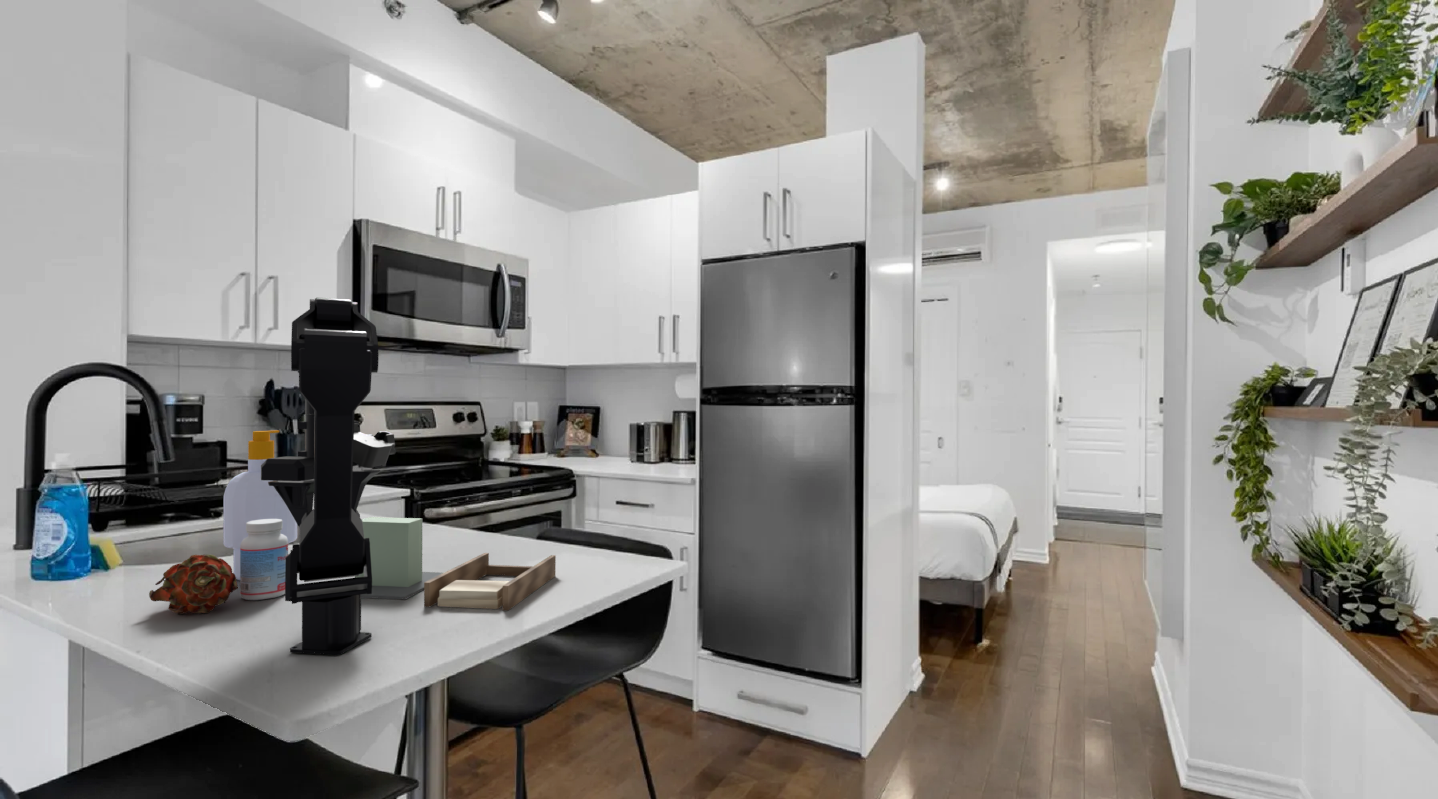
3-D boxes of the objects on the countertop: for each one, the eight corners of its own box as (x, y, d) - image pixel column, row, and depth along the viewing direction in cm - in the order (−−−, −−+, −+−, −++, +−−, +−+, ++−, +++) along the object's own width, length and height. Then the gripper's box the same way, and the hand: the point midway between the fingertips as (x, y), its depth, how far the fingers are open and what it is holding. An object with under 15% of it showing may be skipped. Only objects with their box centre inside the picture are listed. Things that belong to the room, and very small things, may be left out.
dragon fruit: (219, 630, 94) (168, 630, 99) (267, 580, 101) (217, 583, 106) (173, 588, 90) (122, 590, 95) (226, 539, 97) (176, 544, 102)
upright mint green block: (408, 587, 109) (408, 523, 109) (354, 584, 110) (354, 521, 110) (422, 580, 113) (422, 518, 113) (370, 578, 114) (370, 517, 114)
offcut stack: (496, 609, 99) (496, 592, 99) (436, 606, 100) (436, 590, 100) (514, 596, 105) (514, 581, 105) (458, 594, 106) (458, 578, 106)
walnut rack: (508, 610, 99) (508, 585, 99) (424, 606, 100) (424, 582, 100) (555, 576, 117) (555, 555, 117) (484, 573, 119) (484, 552, 119)
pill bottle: (289, 597, 104) (289, 522, 104) (240, 603, 101) (240, 526, 101) (287, 587, 109) (287, 516, 109) (240, 593, 106) (240, 520, 106)
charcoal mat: (405, 599, 104) (405, 596, 104) (318, 595, 105) (318, 592, 105) (452, 575, 118) (452, 572, 118) (374, 572, 119) (374, 569, 119)
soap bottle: (311, 570, 120) (311, 430, 120) (259, 586, 110) (259, 433, 110) (262, 566, 122) (262, 429, 122) (207, 582, 112) (207, 432, 112)
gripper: (337, 416, 88) (337, 540, 88) (418, 413, 107) (418, 515, 107) (257, 416, 90) (257, 537, 90) (350, 412, 108) (350, 513, 108)
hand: (328, 524), depth 99 cm, fingers open, 9 cm apart
